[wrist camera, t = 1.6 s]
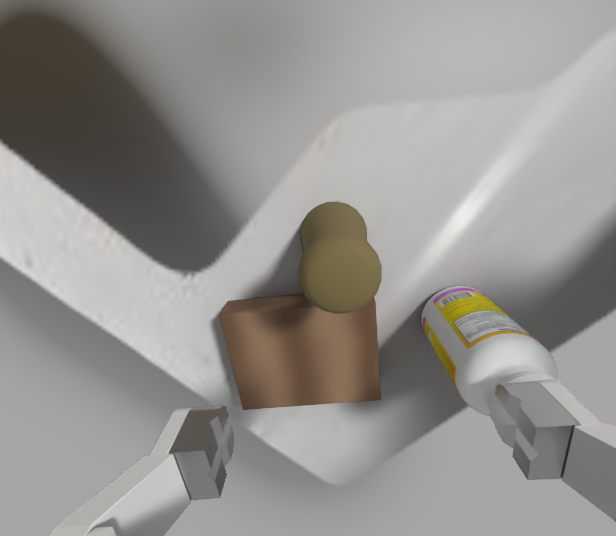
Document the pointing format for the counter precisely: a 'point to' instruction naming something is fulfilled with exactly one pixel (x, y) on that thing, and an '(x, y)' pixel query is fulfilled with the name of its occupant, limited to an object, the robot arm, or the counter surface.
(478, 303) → the supplement bottle
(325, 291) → the cork
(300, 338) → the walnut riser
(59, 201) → the counter surface
